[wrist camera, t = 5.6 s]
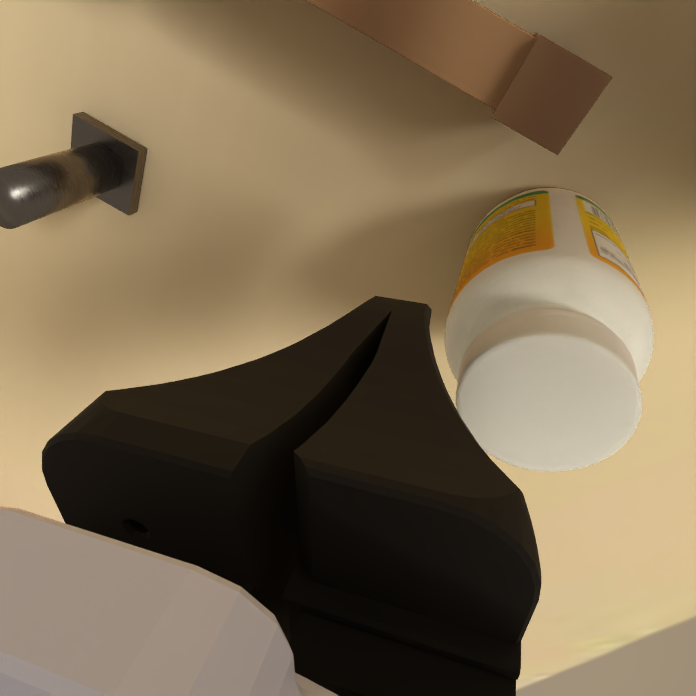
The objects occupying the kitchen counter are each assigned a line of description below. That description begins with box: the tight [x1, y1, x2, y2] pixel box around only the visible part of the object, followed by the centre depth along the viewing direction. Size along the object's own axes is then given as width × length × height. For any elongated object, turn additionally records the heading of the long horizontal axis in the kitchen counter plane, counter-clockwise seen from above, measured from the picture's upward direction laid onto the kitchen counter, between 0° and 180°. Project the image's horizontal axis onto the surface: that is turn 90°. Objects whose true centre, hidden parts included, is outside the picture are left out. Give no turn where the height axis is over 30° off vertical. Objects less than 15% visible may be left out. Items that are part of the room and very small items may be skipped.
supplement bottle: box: [445, 188, 654, 472], centre depth 15 cm, size 5×5×10 cm
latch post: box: [0, 112, 147, 229], centre depth 20 cm, size 3×3×6 cm
